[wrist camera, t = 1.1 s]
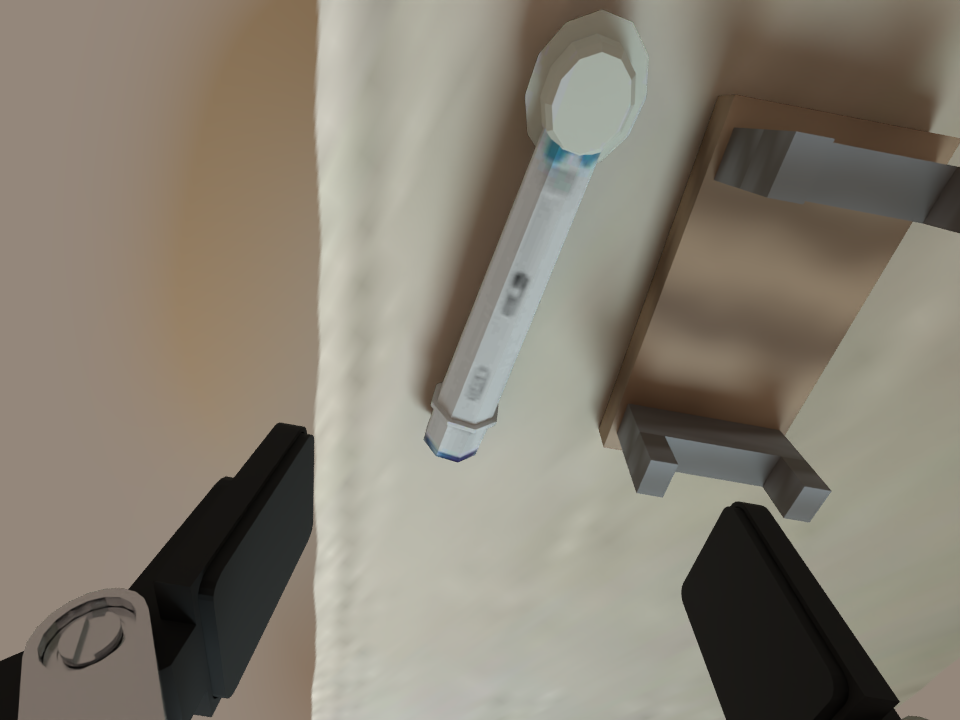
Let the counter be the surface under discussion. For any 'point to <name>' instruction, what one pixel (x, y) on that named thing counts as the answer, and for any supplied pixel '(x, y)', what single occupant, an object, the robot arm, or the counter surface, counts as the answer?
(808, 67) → the counter surface
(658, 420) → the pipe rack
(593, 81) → the white elongated piece
